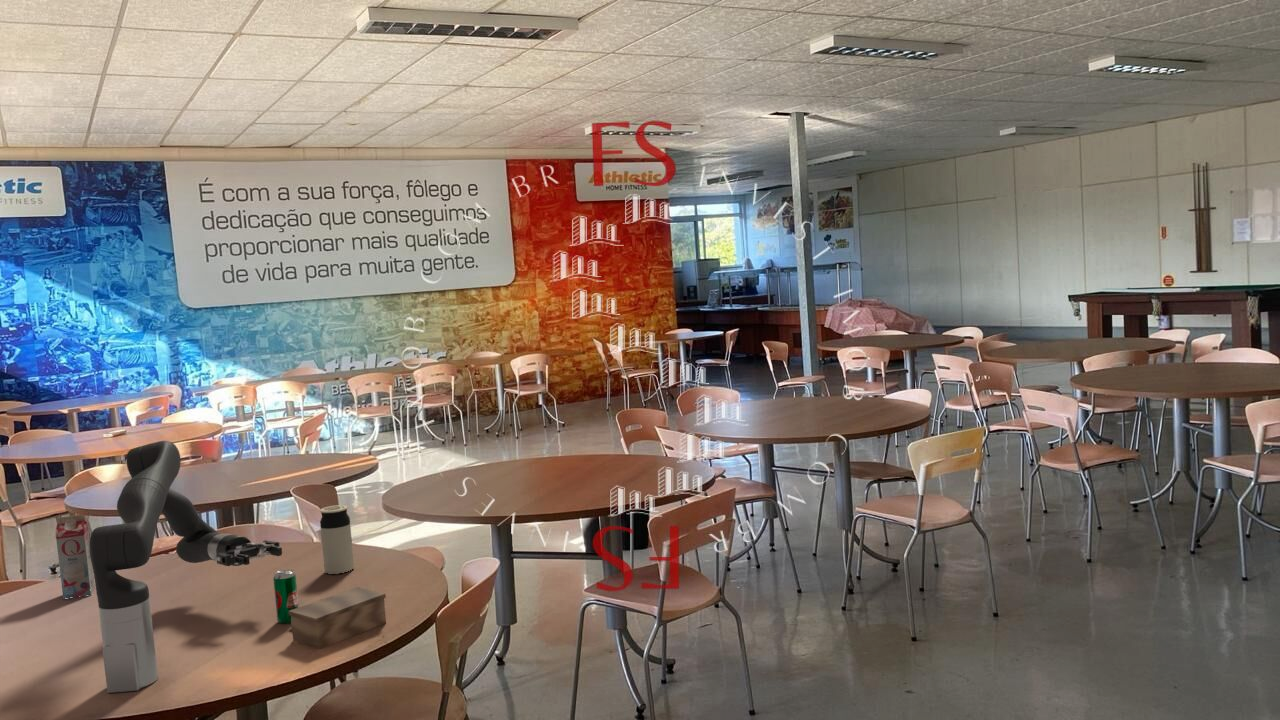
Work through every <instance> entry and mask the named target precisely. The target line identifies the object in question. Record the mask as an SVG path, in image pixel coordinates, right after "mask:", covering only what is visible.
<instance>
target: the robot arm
mask: <svg viewBox="0 0 1280 720" xmlns="http://www.w3.org/2000/svg"><path fill="white" fill-rule="evenodd" d="M125 460H126V467H127V471H128V474H129V475H130V477H131V478H130V479H129V480H128V481H127V482H126V484H125V485H124V487H123V488H122V490H121V493H120V495H119V497H118V500H117V503H116V509H117V513H118V515H119V517H120V519H121V520H122V521H123V522H124V523H119V524H110V525H103V526H97V527H96V528H94V529H93V530H92V531H91V533H90V535H89V540H90V542H89V546H90V556H91V562H92V567H93V575H94V584H95V592H96V597H97V603H98V612H99V621H100V622H99V623H100V629H101V630H100V631H101V638H102V639H101V640H102V657H103V665H104V674H105V683H106V692H107V694H111V693H123V692H124V693H125V692H133V691H134V692H135V691H139V690H140V689H143V688H145V687H147V686H149V685H151V684H154V683H155V682H156V681H157V680H158V679H159V675H158V674H159V673H158V665H157V657H156V656H157V655H156V648H155V635H154V629H153V620H152V618H153V617H152V609H151V602H150V601H151V598H150V591H149V586H148V584H146V582H143V581H140V580H135V579H130V578H127V577H124V576H121V575H120V574H118V572H117V571H122V570H123V571H124V570H127V569H128V570H129V569H136V568H140V567H142V566H145V565H146V564H147V563H148V562H149V560H150V557H151V555H152V551H153V546H154V541H155V540H154V539H155V536H156V528H157V526H158V523H159V520H160V516H161V515H163V516H164V518H165V519H166V521H167V523H168V524H169V526H170V528H171V530H172V531H173V533H174V534H175V535H176V536H179V537H181V539H180V540H179V541H178V542H177V543H176V546H175V547H176V548H175V551H176V554H177V556H178V558H180V559H181V560H183V561H184V562H186V563H189V564H190V563H192V564H197V563H198V564H199V563H203V562H207V561H214V562H216V564H218V565H221V566H225V567H230V566H232V567H239V566H242V565H244V566H247V565H250V564H251V563H250V560H253V559H258V558H261V559H262V558H265V557H266V556H270V555H271V556H275V557H281V556H282V554H283V548H282V547H281V546H280V542H279V541H273V540H266V539H265V540H263V541H262V542H252V541H251V540H250V539H249V538H248V537H247V536H244V535H239V534H233V533H221V532H217V531H216V529H214V527H212V526H211V525H209V524H208V523H207V522H205V520H203V518H201V516H200V515H199V513H198V511H197V510H196V508H195V506H194V504H193V502H192V501H191V500H190V499H189V498H188V497H187V496H185V495H183V494H182V493H181V492H178V491H176V490H174V489H172V488H171V486H172V484H173V483H174V481H175V480H176V478H177V476H178V474H179V471H180V469H181V464H182V463H181V462H182V461H181V454H180V450H179V449H178V447H177V446H176V444H175V443H173V441H169V440H160V441H159V440H158V441H154V442H151V443H148V444H144V445H140V446H137V447H133V448H131V449H130V450H128V452H127V453H126V459H125ZM260 552H261V554H260Z"/></svg>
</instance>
